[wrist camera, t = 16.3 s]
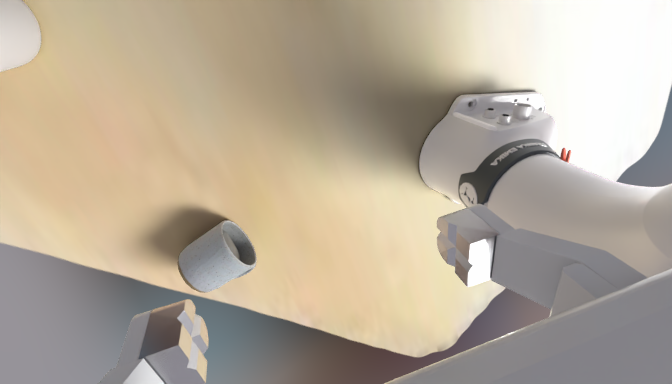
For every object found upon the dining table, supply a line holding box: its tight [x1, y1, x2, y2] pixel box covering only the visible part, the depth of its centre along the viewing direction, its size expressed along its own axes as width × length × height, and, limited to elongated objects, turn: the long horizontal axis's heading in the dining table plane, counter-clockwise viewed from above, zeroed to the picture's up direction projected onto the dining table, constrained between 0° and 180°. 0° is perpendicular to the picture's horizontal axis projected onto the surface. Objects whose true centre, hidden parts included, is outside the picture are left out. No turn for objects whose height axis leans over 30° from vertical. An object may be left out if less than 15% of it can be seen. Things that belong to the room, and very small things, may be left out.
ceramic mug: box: [178, 220, 256, 292], centre depth 46 cm, size 11×8×8 cm
